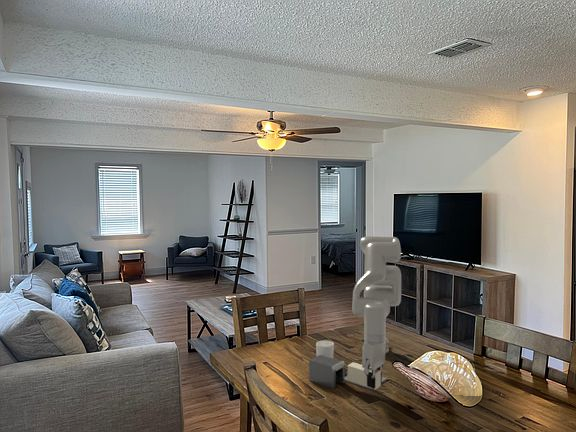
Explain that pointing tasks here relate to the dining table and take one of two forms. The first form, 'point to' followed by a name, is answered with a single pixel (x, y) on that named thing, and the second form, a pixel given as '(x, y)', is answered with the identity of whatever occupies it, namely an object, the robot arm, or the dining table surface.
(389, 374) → the dining table surface
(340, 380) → the dispenser
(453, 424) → the dining table surface
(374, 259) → the robot arm
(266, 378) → the dining table surface
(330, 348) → the white cup
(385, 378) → the mat
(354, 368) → the beige block
